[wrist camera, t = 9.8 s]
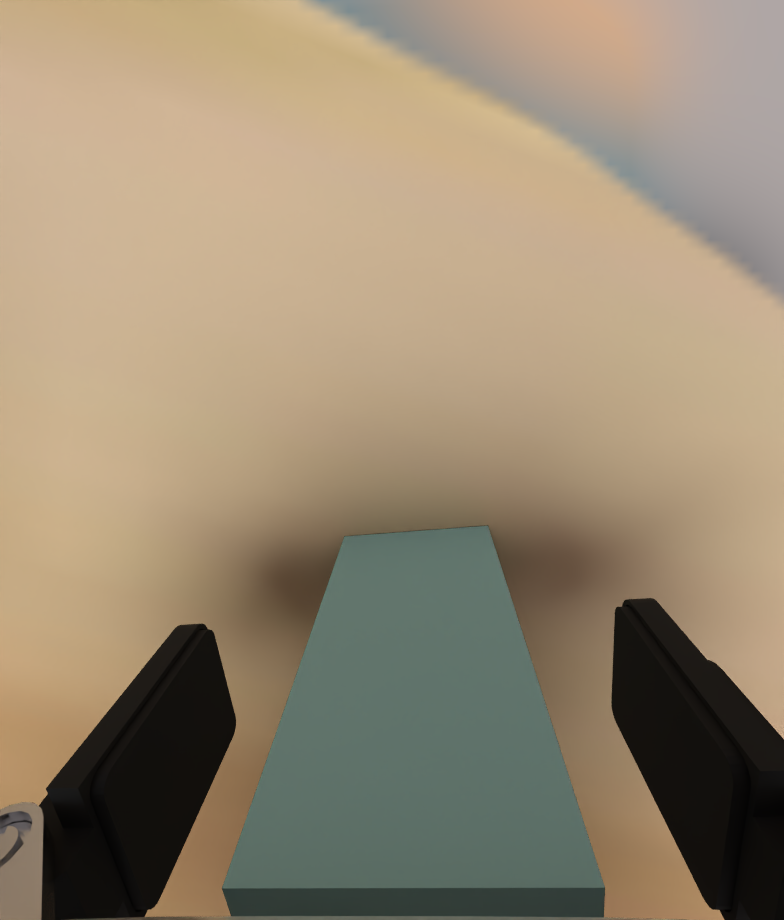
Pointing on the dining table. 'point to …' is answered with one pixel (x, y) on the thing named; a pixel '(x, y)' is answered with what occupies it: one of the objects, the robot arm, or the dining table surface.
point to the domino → (415, 753)
